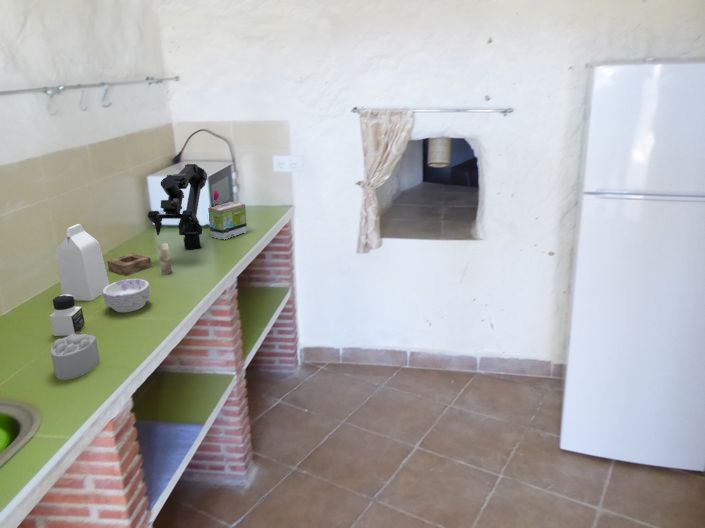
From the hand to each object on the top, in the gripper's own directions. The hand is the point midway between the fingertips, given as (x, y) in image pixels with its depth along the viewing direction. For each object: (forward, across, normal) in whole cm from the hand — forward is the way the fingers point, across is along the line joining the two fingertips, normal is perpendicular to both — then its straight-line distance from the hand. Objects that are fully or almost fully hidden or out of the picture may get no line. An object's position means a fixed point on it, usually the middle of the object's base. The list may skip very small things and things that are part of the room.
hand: (168, 234), depth 244 cm
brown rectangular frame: (+11, -17, +8) cm, 22 cm away
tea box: (-22, +12, +41) cm, 48 cm away
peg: (+15, 0, +4) cm, 16 cm away
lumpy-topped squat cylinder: (+70, +2, -49) cm, 85 cm away
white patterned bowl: (+40, 0, -19) cm, 44 cm away
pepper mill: (-34, 0, +53) cm, 63 cm away
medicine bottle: (+53, -12, -33) cm, 63 cm away
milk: (+31, -22, -10) cm, 39 cm away
